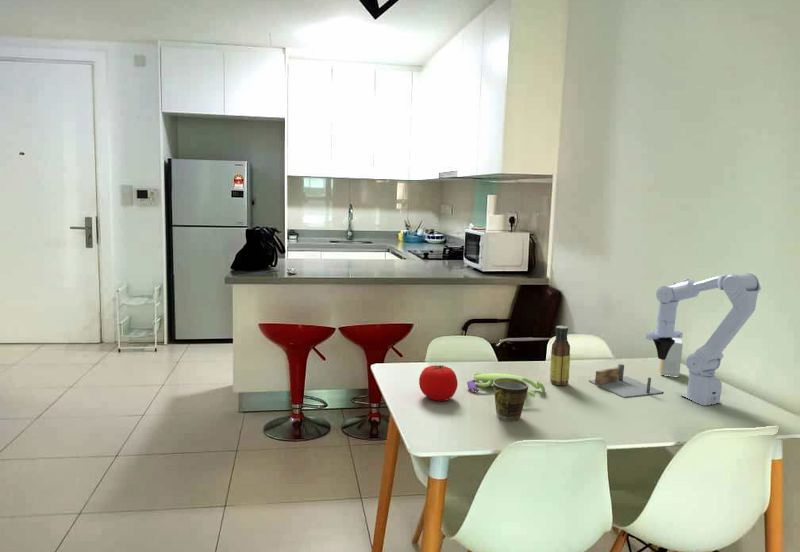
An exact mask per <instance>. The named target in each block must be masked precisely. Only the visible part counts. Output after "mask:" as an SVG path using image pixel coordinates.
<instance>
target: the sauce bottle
mask: <svg viewBox="0 0 800 552" xmlns="http://www.w3.org/2000/svg"><path fill="white" fill-rule="evenodd" d="M568 332H569V327H568V326H565V325H556V326H555V338H554V339H555V340H554V341H553V343H552V345H551V353H550V374H549V378H550V383H551V384H552V385H555V386H567V385H568V384H569V380H570V365H571V364H570V363H571V346H570V345H571V344H570V343H569V341H568Z"/></svg>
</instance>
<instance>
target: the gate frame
mask: <svg viewBox="0 0 800 552" xmlns="http://www.w3.org/2000/svg"><path fill="white" fill-rule="evenodd" d="M617 367H618V368H620V372H619V380H618V381H613V382H608V383H604V384H599V385H597V384H595V379H588V382H589V383H591V384H594V385H595V386H598V387H600V388H602V389H604V390H606V391H608V392H611V393H612V394H614V395H616V396H618V397H620V398H623V399H626V398H634V396H635V397H641V395H643V396H648V395H647V394H652V395H655V394H654V393H660V394H662V393H661V392H663V390H660V389H658V388H655V387H653V386H651V382H652V377H650V376H649V377H647V384H645V383H643V382H641V381H639V380H636V379H635V378H631V377H629V376H624V371H625V365H624V364H623V363H618V364H617Z"/></svg>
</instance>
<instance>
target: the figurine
mask: <svg viewBox="0 0 800 552" xmlns="http://www.w3.org/2000/svg"><path fill="white" fill-rule="evenodd" d="M473 375H474V376H473V379H472V380H471V379H470V380H469V381H467V382H466V384H467V387H468V389H469V391H470V390H471V391H470V392H472V391H476V392H478V391H479V392H480V389H478V388H479V387H481V388H485V387H486V388H487V387H489V386H491V387H492V386H493V381H494V380H496V379H499V378H513V379H518V380H522V381H524V382H526V383H527V384H528V385H530V386H532V387H533V388H535V389H536V390H540V389H541V392H542V393H545V392H546V387H545V386H544V384H543V383H542V382H541V381H540V380H538V381H537V382H536V383H535V382H534V381H532V380H530V379H529V378H527V377H524V376H523V377H522V376H520V375H515V374H508V373H497V372H496V373H493V372H492V373H480V372H475V373H474V374H473ZM476 380H477V381H480V382H481V383H478V382H477V381H476ZM476 392H475V393H476ZM479 392H478V393H479ZM526 396H531V397H536V393H535V392H533V391H529V390H528V391H527V395H526Z"/></svg>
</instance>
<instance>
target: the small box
mask: <svg viewBox="0 0 800 552" xmlns="http://www.w3.org/2000/svg"><path fill="white" fill-rule="evenodd" d="M672 339H673V340H675V343H674V344H673V345H672V347H671V348H670V350H669V352H668V354H667V357H666V359H665V360H662V359H660V361H659V362H660V365H659V374H660V373H661V374H660V376H661V375H668V376H669V375H670V376H679V377H680V374H681V373H680V372H681V363H682V355H683V354H682V353H683V345H684V343H683V340H682V338H672Z"/></svg>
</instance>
